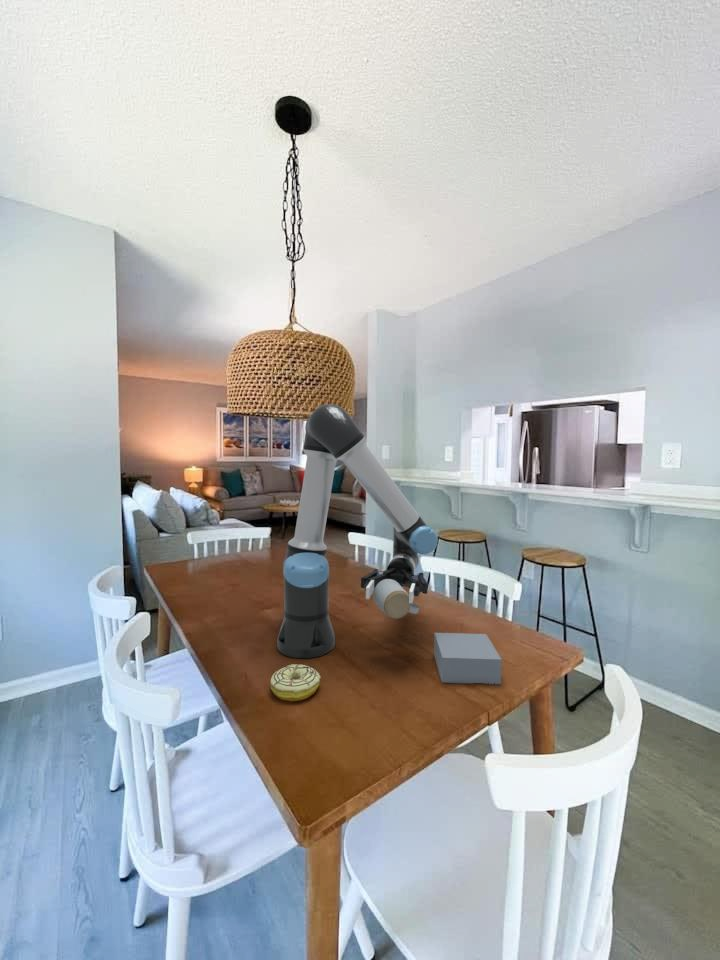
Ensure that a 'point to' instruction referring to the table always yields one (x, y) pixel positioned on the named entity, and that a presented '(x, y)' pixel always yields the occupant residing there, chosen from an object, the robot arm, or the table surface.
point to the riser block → (466, 658)
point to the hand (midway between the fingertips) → (388, 595)
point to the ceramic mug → (393, 599)
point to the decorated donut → (295, 682)
